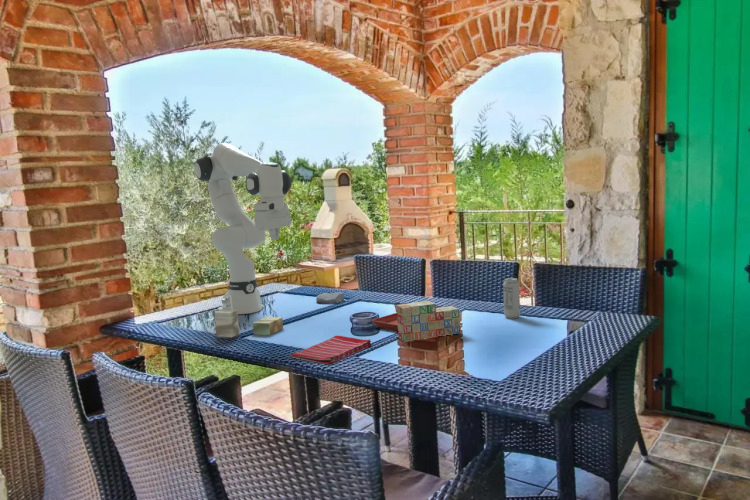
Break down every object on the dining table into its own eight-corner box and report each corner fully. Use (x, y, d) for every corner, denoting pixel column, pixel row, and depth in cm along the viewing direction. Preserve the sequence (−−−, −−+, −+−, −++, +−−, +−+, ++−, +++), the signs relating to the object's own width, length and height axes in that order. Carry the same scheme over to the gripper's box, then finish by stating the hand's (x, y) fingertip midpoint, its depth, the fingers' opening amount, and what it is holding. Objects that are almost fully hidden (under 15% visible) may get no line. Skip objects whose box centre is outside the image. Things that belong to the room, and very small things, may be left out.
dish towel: (373, 346, 207) (373, 339, 206) (330, 366, 188) (329, 358, 187) (334, 341, 217) (334, 334, 216) (289, 359, 197) (288, 351, 197)
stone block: (338, 307, 279) (345, 299, 288) (336, 298, 278) (343, 289, 287) (314, 308, 283) (322, 299, 292) (313, 298, 282) (320, 290, 291)
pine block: (232, 339, 225) (229, 313, 224) (216, 338, 228) (214, 312, 227) (239, 336, 229) (237, 310, 228) (224, 335, 232) (222, 309, 231)
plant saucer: (437, 324, 232) (437, 316, 231) (407, 335, 219) (406, 326, 218) (402, 319, 244) (401, 310, 244) (371, 328, 231) (370, 320, 231)
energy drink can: (523, 317, 233) (522, 279, 232) (509, 319, 231) (508, 281, 229) (514, 314, 239) (513, 277, 237) (501, 316, 237) (500, 278, 235)
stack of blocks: (453, 330, 220) (451, 297, 219) (460, 334, 215) (459, 300, 213) (398, 338, 214) (396, 304, 213) (404, 342, 208) (402, 307, 207)
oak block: (268, 323, 228) (282, 317, 237) (252, 322, 231) (267, 316, 240) (269, 335, 228) (283, 328, 238) (253, 334, 231) (267, 327, 240)
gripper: (280, 202, 246) (282, 236, 248) (250, 206, 227) (253, 242, 229) (293, 202, 243) (295, 236, 245) (264, 206, 225) (267, 243, 227)
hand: (275, 239), depth 237 cm, fingers closed
